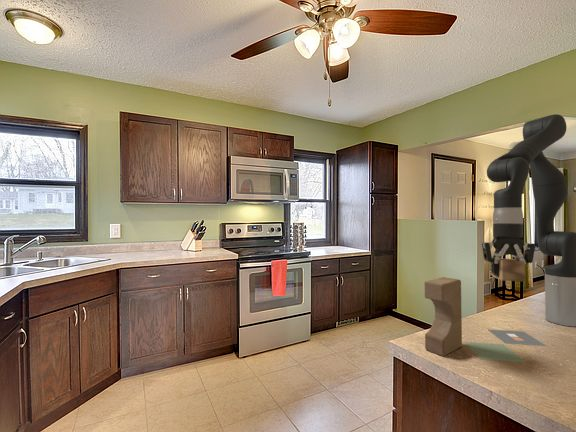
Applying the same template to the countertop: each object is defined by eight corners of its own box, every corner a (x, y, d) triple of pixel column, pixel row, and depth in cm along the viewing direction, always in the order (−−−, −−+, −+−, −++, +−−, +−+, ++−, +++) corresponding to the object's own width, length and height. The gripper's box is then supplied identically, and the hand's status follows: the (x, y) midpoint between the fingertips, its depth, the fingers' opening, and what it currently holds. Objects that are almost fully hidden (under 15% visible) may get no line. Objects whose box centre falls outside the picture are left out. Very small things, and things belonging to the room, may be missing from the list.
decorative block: (443, 357, 78) (442, 284, 79) (423, 349, 83) (423, 281, 83) (463, 347, 84) (462, 279, 85) (443, 340, 89) (443, 276, 89)
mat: (503, 344, 86) (503, 344, 86) (527, 363, 75) (527, 362, 75) (463, 342, 88) (463, 341, 88) (480, 359, 77) (480, 359, 77)
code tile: (523, 332, 95) (523, 331, 95) (546, 346, 84) (546, 345, 84) (487, 329, 97) (487, 329, 97) (505, 343, 87) (505, 343, 87)
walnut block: (513, 277, 91) (513, 258, 91) (524, 281, 85) (524, 261, 85) (492, 276, 92) (492, 258, 92) (502, 280, 86) (502, 260, 87)
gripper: (526, 222, 91) (526, 274, 91) (476, 222, 94) (476, 272, 94) (542, 222, 84) (542, 279, 84) (488, 222, 87) (488, 277, 87)
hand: (507, 275), depth 89 cm, fingers closed on walnut block, 6 cm apart
